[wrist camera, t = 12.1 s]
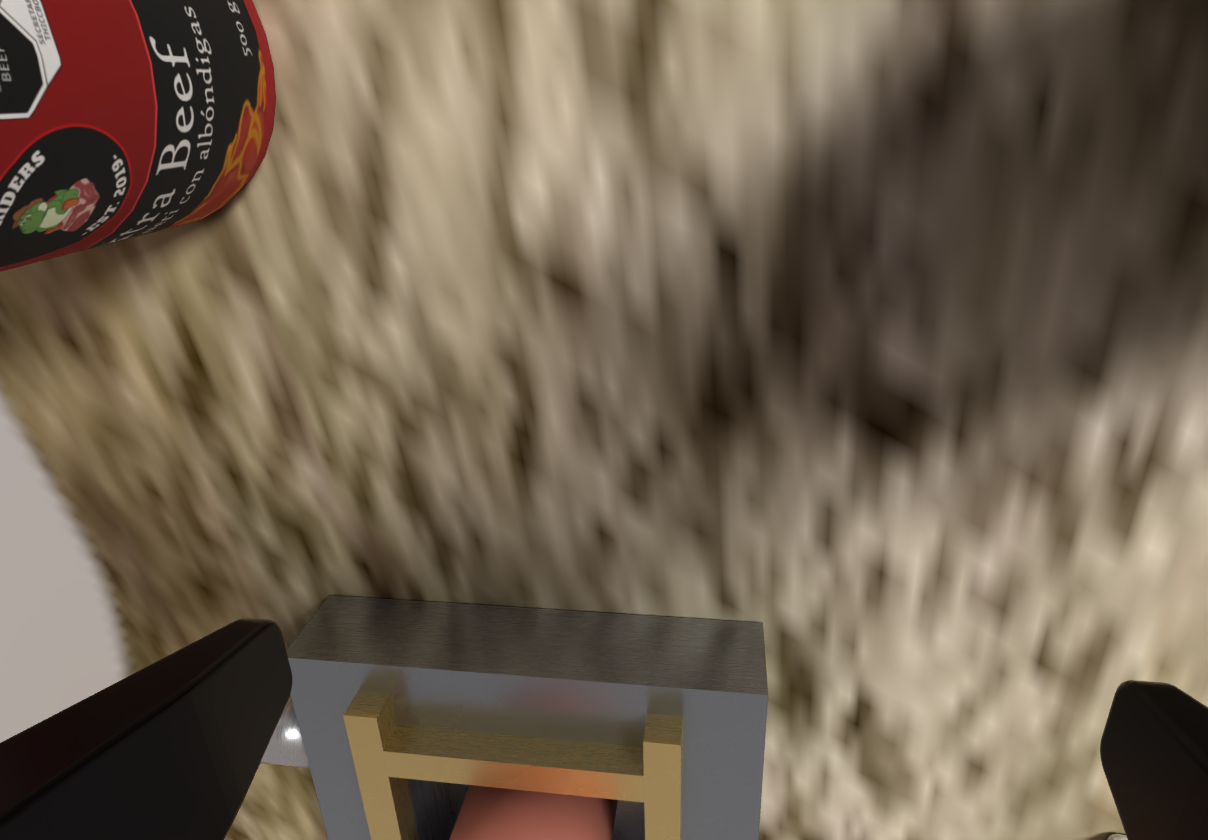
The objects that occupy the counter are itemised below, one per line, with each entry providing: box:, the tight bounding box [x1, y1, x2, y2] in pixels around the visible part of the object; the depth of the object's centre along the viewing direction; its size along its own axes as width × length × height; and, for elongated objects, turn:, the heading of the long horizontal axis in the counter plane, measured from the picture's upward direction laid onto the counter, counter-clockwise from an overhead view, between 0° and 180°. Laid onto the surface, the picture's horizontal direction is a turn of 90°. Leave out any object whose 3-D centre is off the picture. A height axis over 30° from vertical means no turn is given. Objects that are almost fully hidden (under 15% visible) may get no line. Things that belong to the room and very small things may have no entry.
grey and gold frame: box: [260, 595, 768, 840], centre depth 25 cm, size 17×14×4 cm
